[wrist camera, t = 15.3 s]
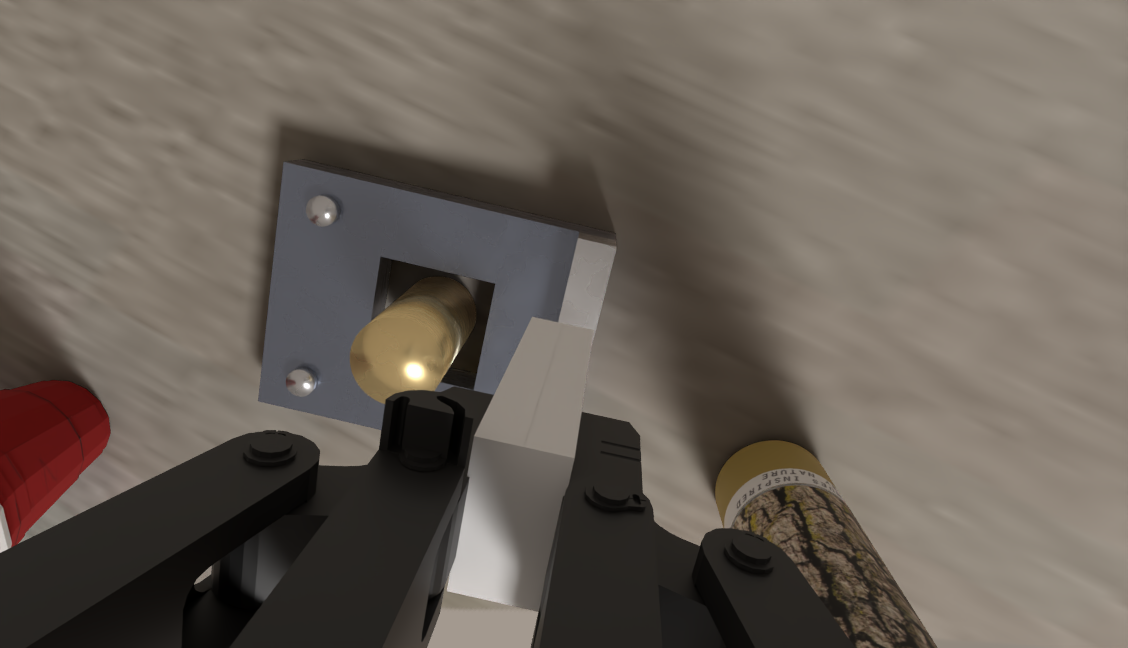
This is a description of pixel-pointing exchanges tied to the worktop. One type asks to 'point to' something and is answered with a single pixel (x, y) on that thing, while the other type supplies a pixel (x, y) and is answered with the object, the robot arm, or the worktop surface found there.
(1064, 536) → the worktop surface
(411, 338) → the brass cylinder
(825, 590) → the paper tube
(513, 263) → the jig
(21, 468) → the plastic cup
